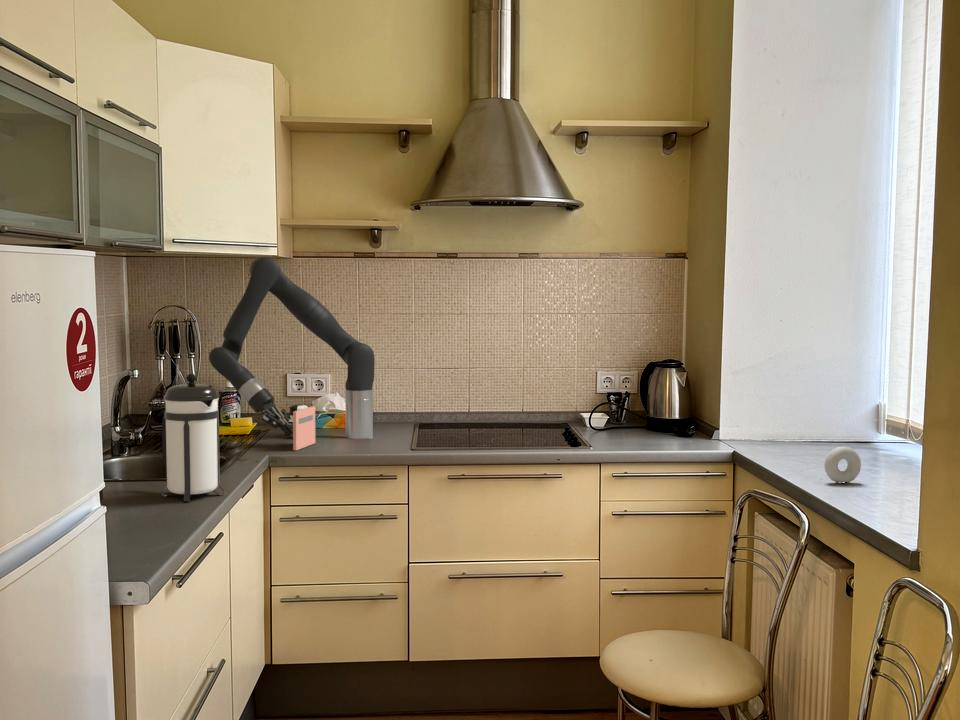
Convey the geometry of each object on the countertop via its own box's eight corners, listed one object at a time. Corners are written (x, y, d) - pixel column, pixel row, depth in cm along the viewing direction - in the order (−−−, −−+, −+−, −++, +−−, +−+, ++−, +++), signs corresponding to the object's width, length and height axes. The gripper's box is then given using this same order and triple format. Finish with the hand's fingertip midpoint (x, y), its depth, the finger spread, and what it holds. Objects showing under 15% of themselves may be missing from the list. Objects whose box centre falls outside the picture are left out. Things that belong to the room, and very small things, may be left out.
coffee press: (232, 487, 219) (231, 370, 217) (215, 502, 203) (213, 376, 201) (164, 488, 219) (161, 370, 216) (141, 502, 203) (138, 376, 200)
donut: (855, 481, 232) (857, 445, 231) (863, 484, 229) (864, 447, 228) (821, 482, 231) (822, 445, 230) (828, 485, 227) (829, 448, 226)
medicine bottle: (284, 440, 291) (283, 405, 291) (297, 437, 298) (297, 403, 297) (300, 442, 288) (300, 407, 287) (314, 439, 294) (314, 404, 294)
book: (312, 442, 280) (312, 406, 279) (315, 443, 279) (315, 406, 279) (293, 450, 266) (292, 411, 265) (296, 450, 266) (296, 411, 265)
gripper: (253, 389, 268) (289, 430, 266) (273, 385, 281) (308, 424, 279) (238, 405, 270) (274, 446, 268) (259, 401, 283) (293, 439, 281)
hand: (291, 434), depth 274 cm, fingers closed
